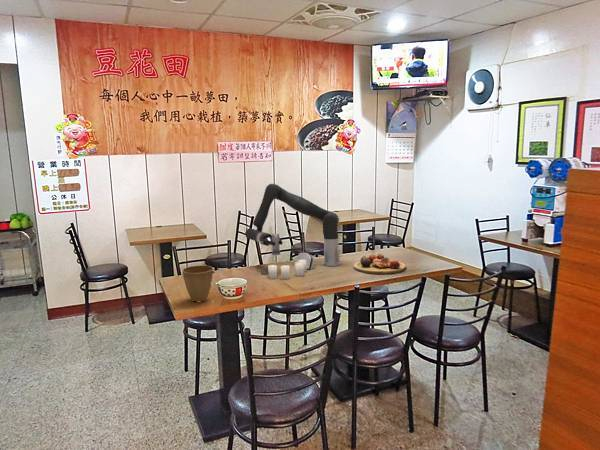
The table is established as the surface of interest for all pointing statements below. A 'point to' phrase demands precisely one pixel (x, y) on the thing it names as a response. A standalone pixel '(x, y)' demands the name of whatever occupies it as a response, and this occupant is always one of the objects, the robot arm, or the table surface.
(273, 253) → the bushing
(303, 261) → the spacer
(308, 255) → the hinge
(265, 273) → the mat
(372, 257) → the wooden plate with food
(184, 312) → the table surface
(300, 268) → the spacer
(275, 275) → the cylinder
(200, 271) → the plant pot
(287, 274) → the spacer
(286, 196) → the robot arm
